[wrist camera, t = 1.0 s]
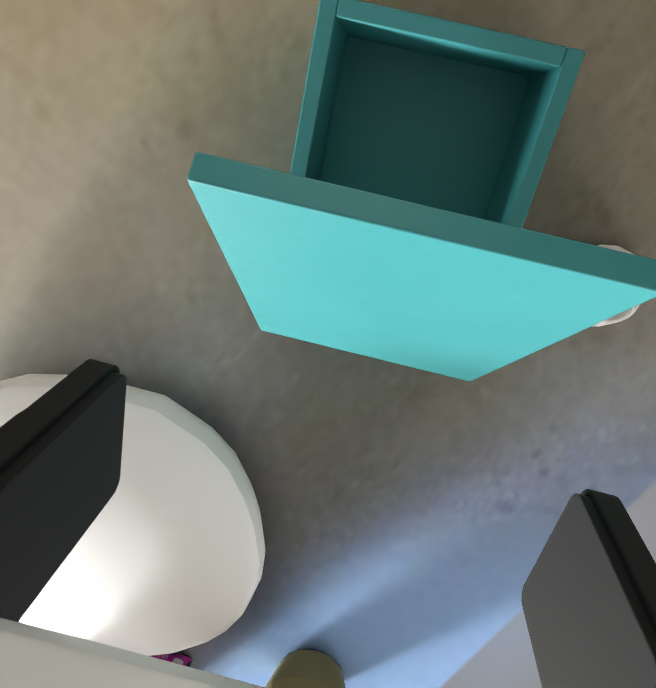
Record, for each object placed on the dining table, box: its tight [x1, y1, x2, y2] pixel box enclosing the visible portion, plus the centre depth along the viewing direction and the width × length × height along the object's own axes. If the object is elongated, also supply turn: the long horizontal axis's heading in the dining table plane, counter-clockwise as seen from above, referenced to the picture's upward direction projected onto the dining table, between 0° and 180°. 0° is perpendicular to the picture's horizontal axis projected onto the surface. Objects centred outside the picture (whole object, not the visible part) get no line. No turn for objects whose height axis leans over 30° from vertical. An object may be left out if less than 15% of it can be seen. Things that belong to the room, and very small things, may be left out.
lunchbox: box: [290, 0, 585, 228], centre depth 29 cm, size 16×12×7 cm
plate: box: [0, 374, 266, 656], centre depth 42 cm, size 28×6×27 cm
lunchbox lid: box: [187, 152, 656, 381], centre depth 21 cm, size 16×12×1 cm
